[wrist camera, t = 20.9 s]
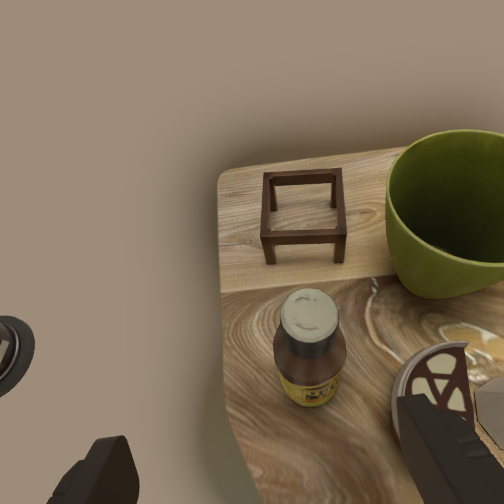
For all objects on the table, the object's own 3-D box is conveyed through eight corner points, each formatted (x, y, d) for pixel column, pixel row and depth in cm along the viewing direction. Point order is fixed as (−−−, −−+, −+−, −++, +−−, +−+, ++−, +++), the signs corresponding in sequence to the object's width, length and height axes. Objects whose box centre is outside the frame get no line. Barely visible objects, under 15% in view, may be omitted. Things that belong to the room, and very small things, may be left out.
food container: (377, 357, 42) (393, 328, 34) (436, 363, 41) (468, 335, 32) (379, 484, 36) (398, 489, 28) (448, 496, 35) (490, 505, 26)
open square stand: (266, 264, 50) (259, 236, 44) (269, 204, 55) (263, 172, 49) (343, 263, 49) (347, 234, 43) (338, 201, 54) (341, 167, 48)
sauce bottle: (312, 422, 40) (308, 387, 23) (270, 380, 43) (238, 321, 26) (350, 377, 42) (373, 313, 24) (307, 339, 44) (301, 259, 27)
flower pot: (513, 250, 46) (596, 157, 32) (474, 355, 41) (554, 298, 27) (394, 207, 52) (422, 112, 38) (347, 294, 46) (358, 221, 33)
